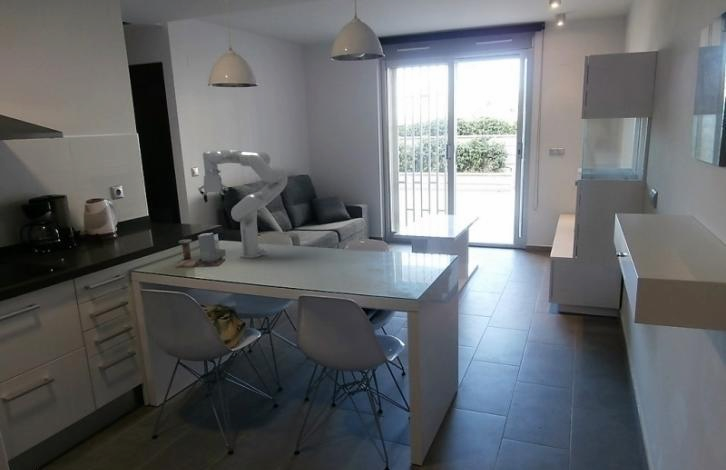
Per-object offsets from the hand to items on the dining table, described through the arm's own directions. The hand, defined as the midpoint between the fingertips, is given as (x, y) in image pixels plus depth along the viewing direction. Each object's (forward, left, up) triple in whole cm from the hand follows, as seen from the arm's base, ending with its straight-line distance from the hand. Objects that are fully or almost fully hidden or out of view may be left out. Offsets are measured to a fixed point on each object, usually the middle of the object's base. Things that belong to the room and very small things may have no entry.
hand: (214, 201), depth 292 cm
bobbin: (+16, +11, -32) cm, 38 cm away
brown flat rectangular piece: (+5, +20, -32) cm, 38 cm away
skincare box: (0, +20, -31) cm, 37 cm away
